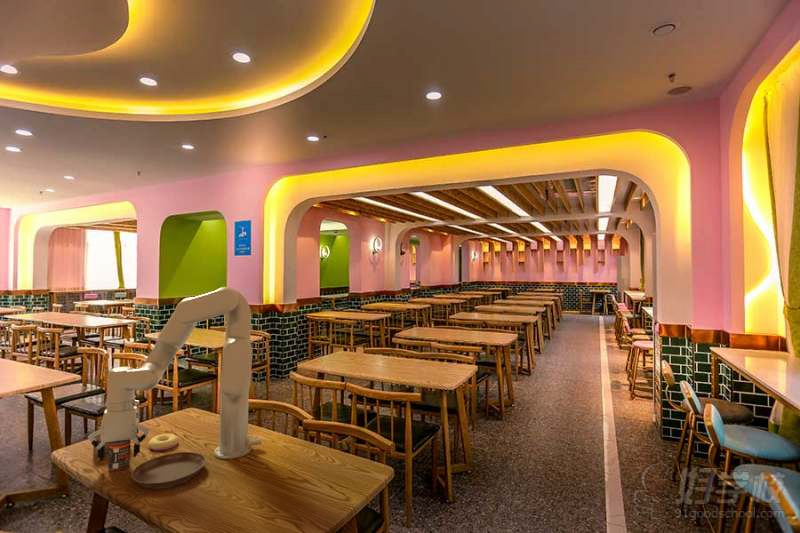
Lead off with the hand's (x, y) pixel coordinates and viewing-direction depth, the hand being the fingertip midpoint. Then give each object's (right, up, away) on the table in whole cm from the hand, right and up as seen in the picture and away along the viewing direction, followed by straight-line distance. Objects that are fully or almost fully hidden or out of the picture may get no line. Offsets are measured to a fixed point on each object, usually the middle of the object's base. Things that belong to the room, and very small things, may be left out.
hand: (119, 457), depth 136 cm
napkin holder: (-10, -3, +11) cm, 15 cm away
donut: (+5, -4, +17) cm, 18 cm away
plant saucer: (+19, -4, -4) cm, 20 cm away
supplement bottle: (0, -4, 0) cm, 4 cm away
